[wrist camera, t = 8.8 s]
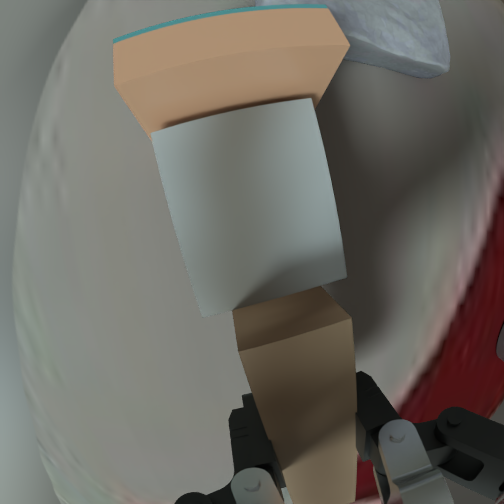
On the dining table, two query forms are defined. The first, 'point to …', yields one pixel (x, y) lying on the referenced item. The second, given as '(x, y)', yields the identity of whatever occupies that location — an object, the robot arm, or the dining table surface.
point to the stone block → (390, 33)
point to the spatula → (272, 277)
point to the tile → (227, 62)
